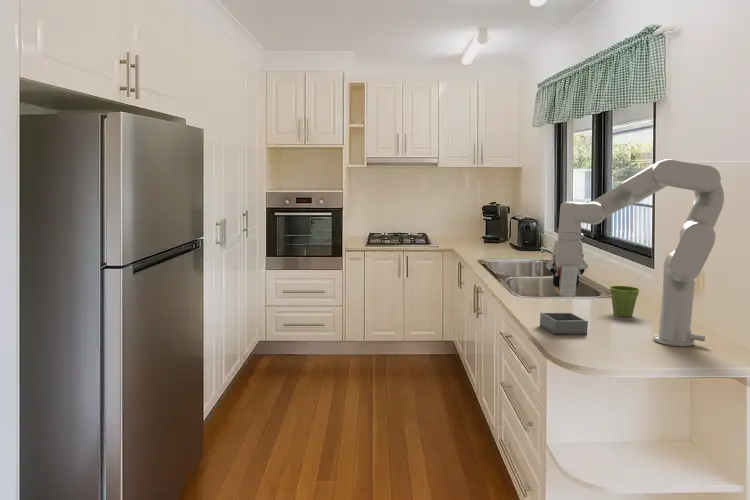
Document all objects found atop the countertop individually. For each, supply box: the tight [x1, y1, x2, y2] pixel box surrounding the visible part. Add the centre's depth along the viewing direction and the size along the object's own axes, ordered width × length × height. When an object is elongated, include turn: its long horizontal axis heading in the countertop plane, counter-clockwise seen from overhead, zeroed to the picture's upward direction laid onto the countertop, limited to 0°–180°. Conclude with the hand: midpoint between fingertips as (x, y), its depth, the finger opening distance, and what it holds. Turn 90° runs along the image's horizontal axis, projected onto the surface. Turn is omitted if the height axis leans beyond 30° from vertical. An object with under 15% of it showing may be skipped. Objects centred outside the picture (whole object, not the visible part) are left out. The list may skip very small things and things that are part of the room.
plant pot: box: [608, 285, 641, 318], centre depth 252 cm, size 12×12×11 cm
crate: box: [539, 312, 589, 336], centre depth 223 cm, size 12×13×5 cm
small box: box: [554, 266, 578, 297], centre depth 221 cm, size 8×6×10 cm
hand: (565, 286), depth 222 cm, fingers closed on small box, 6 cm apart
